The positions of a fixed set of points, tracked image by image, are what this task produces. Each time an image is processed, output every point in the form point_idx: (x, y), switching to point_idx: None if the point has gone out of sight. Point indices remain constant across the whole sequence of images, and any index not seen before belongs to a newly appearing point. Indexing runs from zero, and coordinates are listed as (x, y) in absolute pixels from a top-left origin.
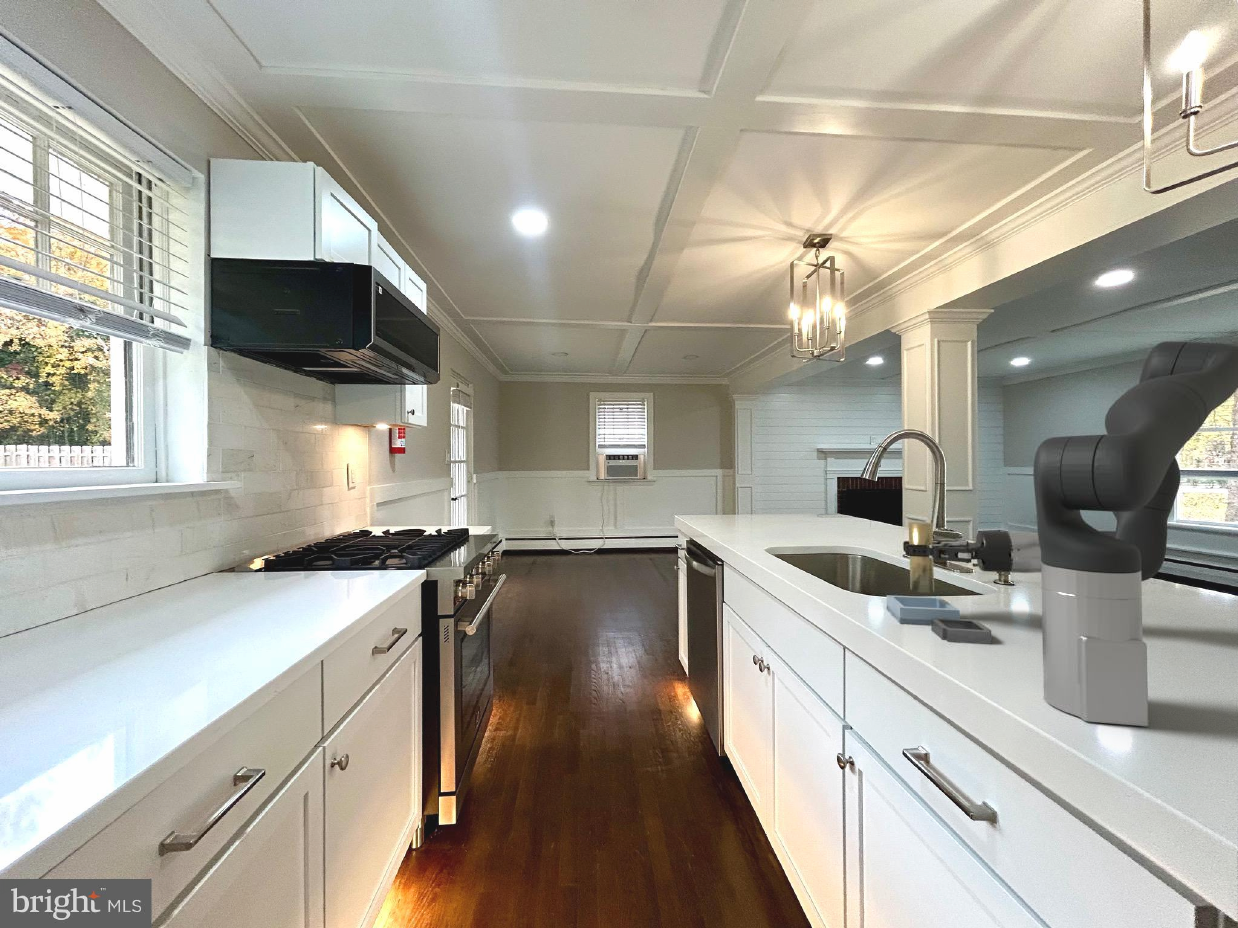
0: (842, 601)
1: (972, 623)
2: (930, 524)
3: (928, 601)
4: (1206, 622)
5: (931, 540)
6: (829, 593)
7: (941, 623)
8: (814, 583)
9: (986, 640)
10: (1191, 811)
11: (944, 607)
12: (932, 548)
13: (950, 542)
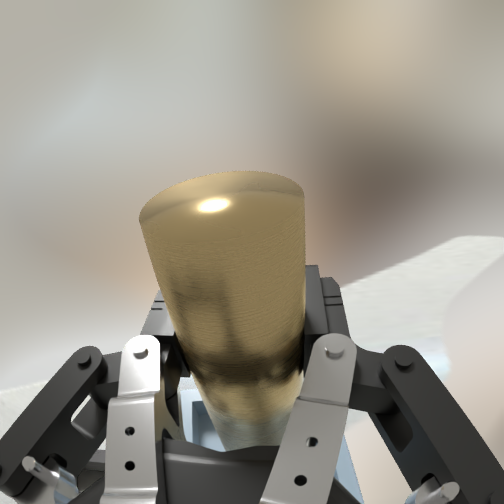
0: (368, 313)
1: None
2: (154, 238)
3: (335, 475)
4: None
5: (192, 342)
6: (423, 288)
7: (97, 459)
8: (481, 262)
9: None
10: None
11: None
12: (117, 357)
13: (119, 438)
